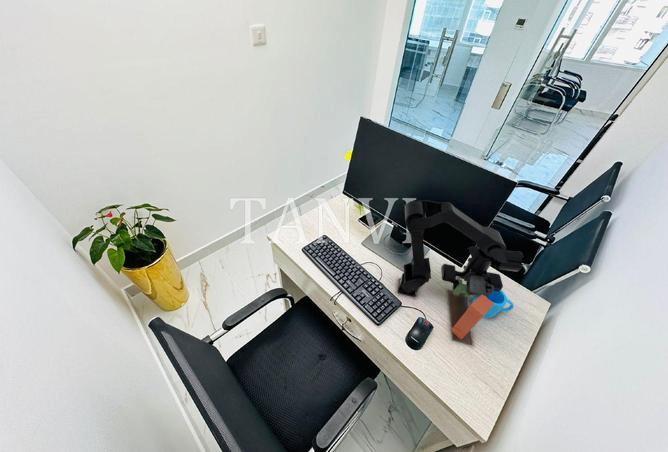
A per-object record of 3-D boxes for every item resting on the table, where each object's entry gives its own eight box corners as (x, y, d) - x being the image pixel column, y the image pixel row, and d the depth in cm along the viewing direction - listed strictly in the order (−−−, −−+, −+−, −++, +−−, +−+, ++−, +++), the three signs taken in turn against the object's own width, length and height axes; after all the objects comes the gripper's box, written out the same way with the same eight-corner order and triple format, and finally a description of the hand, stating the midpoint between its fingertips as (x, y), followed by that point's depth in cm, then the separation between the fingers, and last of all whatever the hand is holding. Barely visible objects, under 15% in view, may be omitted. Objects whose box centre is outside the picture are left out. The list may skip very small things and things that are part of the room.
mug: (473, 314, 90) (483, 302, 85) (470, 295, 96) (480, 282, 91) (509, 323, 88) (522, 312, 83) (504, 303, 94) (516, 291, 89)
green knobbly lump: (470, 298, 92) (475, 290, 88) (453, 294, 93) (457, 286, 89) (468, 290, 94) (473, 282, 91) (452, 286, 95) (456, 278, 92)
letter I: (450, 330, 84) (470, 305, 74) (461, 319, 88) (481, 294, 77) (461, 340, 82) (483, 315, 71) (471, 328, 85) (494, 303, 74)
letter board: (452, 339, 83) (453, 338, 82) (447, 290, 97) (448, 289, 96) (471, 345, 82) (472, 344, 81) (464, 294, 96) (465, 293, 96)
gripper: (451, 277, 78) (436, 304, 88) (517, 290, 75) (494, 316, 85) (448, 251, 86) (435, 278, 96) (507, 262, 83) (487, 289, 93)
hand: (462, 290), depth 93 cm, fingers closed on green knobbly lump, 6 cm apart
